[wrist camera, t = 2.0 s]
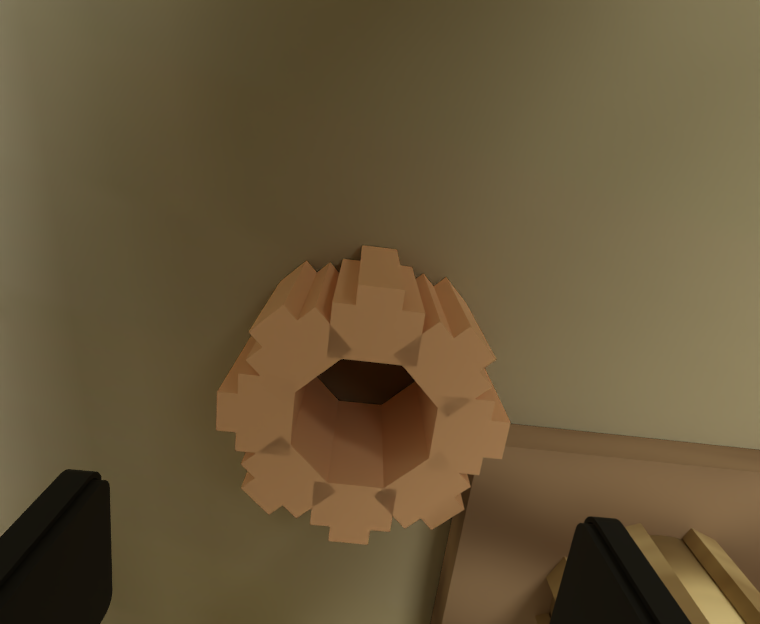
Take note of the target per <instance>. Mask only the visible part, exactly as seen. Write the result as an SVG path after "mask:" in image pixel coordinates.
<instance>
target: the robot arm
mask: <svg viewBox="0 0 760 624" xmlns="http://www.w3.org/2000/svg"><path fill="white" fill-rule="evenodd" d="M111 597H112V559H111V521H110V487H109V483H108V481H106V480H101V475H100V473H98V472H93V471H82V470H71V469H68V470H65V471H63V472H62V473H61V474H60V475H59V476H58V477H57V478H56V479H55V480H54V481H53V482H52V483H51V485H50V486H49V487H48V488H47V489H46V490H45V491H44V492H43V493H42V494H41V495H40V496H39V497H38V498H37V499H36V500H35V501H34V502H33V503H32V504H31V506H30V507H29V508H28V509H27V510H26V511H25V512H24V513H23V514H22V515H21V516H20V517H19V518H18V519H17V520H16V521H15V522H14V523H13V524H12V525H11V526H10V528H9V529H8V530H7V531H6V532H5V533H4V534H3V535H2V536H1V537H0V624H100V623H101V621H102V620H103V618H104V616H105V614H106V612H107V610H108V608H109V605H110V601H111ZM549 624H692V623H691V622H690V621H689V619H688V618H687V616H686V615H685V613H684V612H683V610H682V609H681V608H680V606H679V605H678V603H677V602H676V600H675V599H674V598H673V596H672V595H671V593H670V592H669V590H668V589H667V587H666V586H665V585H664V583H663V582H662V580H661V579H660V577H659V576H658V574H657V573H656V572H655V570H654V569H653V567H652V566H651V564H650V563H649V561H648V560H647V559H646V557H645V556H644V554H643V553H642V551H641V550H640V548H639V547H638V546H637V544H636V543H635V541H634V540H633V538H632V537H631V536H630V534H629V533H628V531H627V530H626V528H625V527H624V525H623V524H622V523H621V522H620V521H619V520H618V519H615V518H604V517H593V516H589V517H587V518H586V519H585V521H584V523H579V524H578V525H577V526H576V529H575V532H574V536H573V540H572V543H571V547H570V551H569V554H568V558H567V561H566V565H565V569H564V572H563V576H562V580H561V583H560V587H559V590H558V594H557V598H556V601H555V605H554V609H553V612H552V616H551V620H550V623H549Z"/></svg>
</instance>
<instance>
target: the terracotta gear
mask: <svg viewBox="0 0 760 624" xmlns="http://www.w3.org/2000/svg"><path fill="white" fill-rule="evenodd" d="M249 333H250V334H251V337H250V338H249V340H248V341H247V343H246V345H245V346H244V348H243V350H242V351H241V353H240V355H239V356H238V358H237V360H236V361H235V363H234V365H233V366H232V368H231V370H230V371H229V373H228V375H227V376H226V378H225V380H224V381H223V383H222V384H221V386H220V388H219V389H218V391H217V414H216V430H217V431H227V432H236V441H235V451H241V452H245V455H244V457H243V460H242V462H241V465H242V466H243V467H244V468H245V469H246V470H247V473H246V476H245V479H244V481H243V484H242V487H241V489H242V490H244V491H245V492H246V493H247V494H248V495H249V496H250V497H251V498H252V499H253V500H254V501H255V502H256V503H257V504H258V505H259V506H260V507H261V508H262V509H263V510H264V511H265V512H266V513H267V514H268V515H269V514H271V513H272V512H274V511H275V510H277V509H278V508H279V507H281V506H282V505H283V506H284V507H285V508H286V509H287V510H288V511H289V512H290V513H291V514H292V515H293V516H294V517H295V518H298V517H299V516H301V515H302V514H304V513H305V512H307V511H308V510H310V509H311V508H312V509H311V519H310V525H321V526H330V531H329V540H328V541H333V542H344V543H355V544H366V545H368V541H369V534H370V530H374V531H385V532H390V529H391V523H392V516H393V517H394V518H395V519H396V520H397V521H398V522H399V523H400V524H401V525H402V526H403V527H404V528H406V527H408V526H410V525H411V524H413V523H414V522H416V521H417V520H419V519H422V520H423V521H424V522H425V523H426V525H427V526H428V527H429V528H430V529H431V530H433V529H434V528H436V527H437V526H439V525H441V524H442V523H444V522H445V521H447V520H449V519H450V518H452V517H453V516H455V515H457V514H458V513H460V512H461V511H463V510H464V505H463V501H462V497H461V493H462V492H463V491H465V490H466V489H468V488H470V487H471V486H470V482H469V479H468V475H467V474H472V475H479V474H480V470H481V465H482V461H483V458H493V459H502V457H503V453H504V449H505V444H506V440H507V436H508V432H509V427H510V423H511V422H510V420H509V418H508V416H507V414H506V412H505V410H504V408H503V406H502V403H501V401H500V399H499V397H498V395H497V393H496V391H495V389H494V386H493V384H492V382H491V380H490V378H489V376H488V374H487V372H486V370H485V367H486V366H488V365H489V364H491V363H492V362H494V361H495V360H497V359H496V357H495V356H494V354H493V352H492V350H491V348H490V346H489V344H488V343H487V341H486V339H485V337H484V335H483V333H482V332H481V330H480V328H479V326H478V324H477V322H476V321H475V319H474V317H473V315H472V313H471V311H470V309H469V308H468V306H467V304H466V302H465V301H464V300H463V298H462V297H461V296H460V294H459V293H458V292H457V290H456V289H455V288H454V287H453V285H452V284H451V283H450V281H449V280H448V279H447V277H445V278H444V279H443V280H441V281H440V282H439V283H437V284H436V285H435V286H433V285H432V284H431V282H430V281H429V280H428V279H427V277H426V276H425V275H424V273H423V274H422V275H420V276H419V277H418V278H416V279H415V275H414V272H413V268H412V267H409V266H400V262H399V257H398V252H397V249H390V248H381V247H373V246H365V245H362V251H361V259H360V261H359V260H350V259H343V260H342V265H341V269H340V273H339V272H338V271H337V270H336V268H335V267H334V266H333V265H332V264H331V262H330V263H328V264H327V265H326V266H325V267H323V268H322V269H321V270H319V271H318V272H316V271H315V270H314V269H313V267H312V266H311V265H310V264H309V263H308V261H307V260H306V261H305V262H304V263H303V264H301V265H300V266H299V267H298V268H296V269H295V270H294V271H293V272H291V273H290V274H289V275H287V276H286V277H285V278H284V279H282V280H281V281H280V282H279V284H278V286H277V287H276V289H275V290H274V292H273V294H272V295H271V297H270V298H269V300H268V301H267V303H266V305H265V306H264V308H263V309H262V311H261V313H260V314H259V316H258V317H257V319H256V321H255V322H254V324H253V325H252V327H251V328H250V330H249ZM340 359H349V360H358V361H367V362H376V363H385V364H394V365H402V366H403V367H404V368H405V369H406V370H407V372H408V373H409V374H410V375H411V376H412V378H413V379H414V380H415V382H414V383H412V384H411V385H409V386H408V387H406V388H405V389H404V390H402V391H401V392H399V393H398V394H396V395H395V396H394V397H392V398H391V399H389V400H388V401H386V402H385V403H384V404H382V405H376V404H367V403H357V402H348V401H338V399H337V398H336V397H335V396H334V395H333V394H332V393H331V392H330V391H329V390H328V388H327V387H326V386H325V385H324V384H323V383H322V382H321V381H320V380H319V379H318V377H317V376H318V375H320V374H321V373H322V372H324V371H325V370H327V369H328V368H329V367H331V366H332V365H333V364H335V363H336V362H338V361H339V360H340Z"/></svg>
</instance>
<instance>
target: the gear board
mask: <svg viewBox="0 0 760 624" xmlns="http://www.w3.org/2000/svg"><path fill="white" fill-rule="evenodd" d="M467 475H468V479H469V482H470V486H471V487H470V488H468V489H466V490H465V491H463V492H462V493H461V497H462V501H463V505H464V510H463V511H461V512H460V513H458V514H457V515H455V516H453V517H452V521H451V526H450V531H449V536H448V541H447V545H446V550H445V555H444V560H443V565H442V570H441V574H440V579H439V584H438V589H437V594H436V599H435V604H434V608H433V613H432V618H431V623H430V624H549V623H550V620H551V616H552V612H553V609H554V605H555V601H556V598H557V594H558V590H559V587H560V583H561V580H562V576H563V572H564V569H565V565H566V561H567V558H568V554H569V551H570V547H571V543H572V540H573V536H574V532H575V529H576V526H577V525H578V524H579V523H584V521H585V519H586V518H587V517H589V516H593V517H604V518H615V519H618V520H619V521H620V522H621V523H622V524H623V525H624V527H625V528H626V530H627V531H628V533H629V534H630V536H631V537H632V538H633V540H634V541H635V543H636V544H637V546H638V547H639V548H640V550H641V551H642V553H643V554H644V556H645V557H646V559H647V560H648V561H649V563H650V564H651V566H652V567H653V569H654V570H655V572H656V573H657V574H658V576H659V577H660V579H661V580H662V582H663V583H664V585H665V586H666V587H667V589H668V590H669V592H670V593H671V595H672V596H673V598H674V599H675V600H676V602H677V603H678V605H679V606H680V608H681V609H682V610H683V612H684V613H685V615H686V616H687V618H688V619H689V621H690V622H691V623H692V624H760V450H755V449H745V448H736V447H726V446H717V445H707V444H698V443H688V442H679V441H669V440H660V439H650V438H641V437H631V436H622V435H612V434H603V433H593V432H584V431H574V430H565V429H555V428H546V427H536V426H527V425H517V424H510V427H509V432H508V436H507V440H506V444H505V449H504V453H503V457H502V459H493V458H483V461H482V465H481V470H480V474H479V475H472V474H467Z"/></svg>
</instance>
